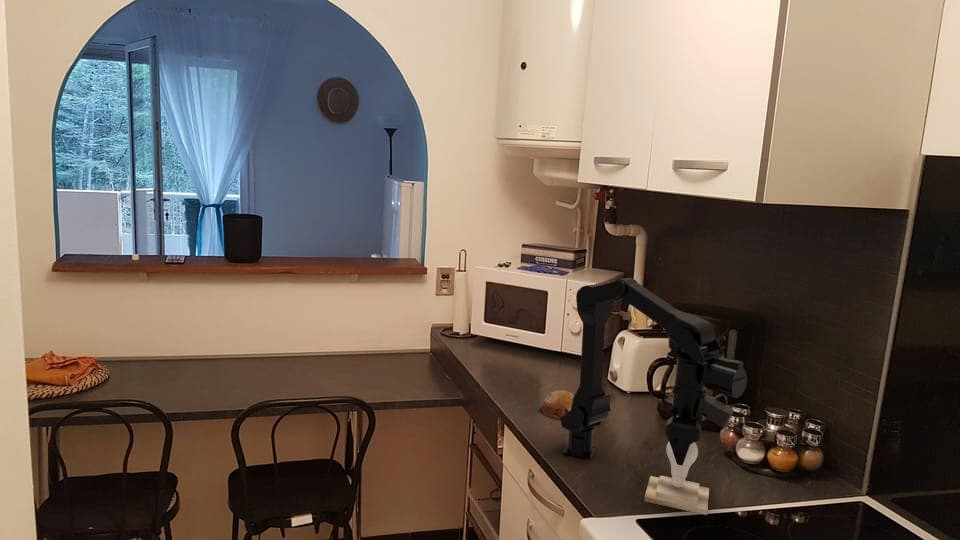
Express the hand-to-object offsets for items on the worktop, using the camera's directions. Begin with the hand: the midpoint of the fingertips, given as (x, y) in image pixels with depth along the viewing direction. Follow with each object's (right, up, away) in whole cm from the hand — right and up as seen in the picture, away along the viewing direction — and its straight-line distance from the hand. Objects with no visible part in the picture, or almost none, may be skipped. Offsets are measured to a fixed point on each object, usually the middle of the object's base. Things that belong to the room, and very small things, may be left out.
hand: (681, 456), depth 137 cm
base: (0, -9, +1) cm, 9 cm away
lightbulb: (0, -7, +1) cm, 7 cm away
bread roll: (-19, -1, +44) cm, 48 cm away
